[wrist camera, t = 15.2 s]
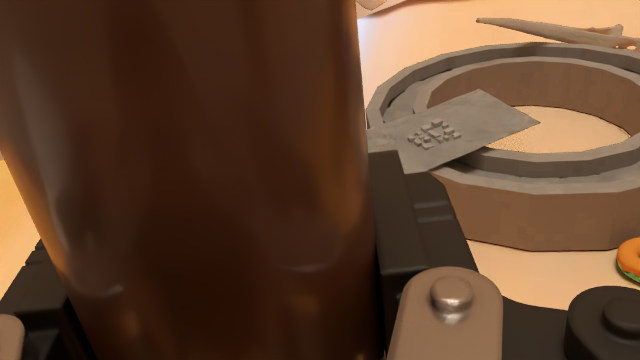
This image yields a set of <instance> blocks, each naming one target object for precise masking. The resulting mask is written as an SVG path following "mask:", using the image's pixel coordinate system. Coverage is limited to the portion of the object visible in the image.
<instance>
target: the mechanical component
mask: <svg viewBox="0 0 640 360" xmlns="http://www.w3.org/2000/svg"><path fill="white" fill-rule="evenodd" d="M477 89H480V90H482V91H484V92H486V93H488V94H490V95H492V96H493V97H495V98H497V99H499V100H500V101H502V102H504V103H505V104H507V105H509V106H518V105H539V106H551V107H562V108H568V109H572V110H576V111H580V112H584V113H588V114H592V115H596V116H598V117H600V118H603V119H605V120H607V121H609V122H611V123H613V124H616V125H618V126H620V127H622V128H623V129H625V130H626V131H627V132H628V133H629V134H630V135H631V136H632V137H630V138H629V139H627V140H625V141H623V142H621V143H617V144H613V145H609V146H604V147H600V148H596V149H591V150H587V151H583V152H564V153H540V154H534V153H526V152H518V151H510V150H502V149H494V148H489V147H486V146H483V147H481V148H479V149H476V150H474V151H472V152H470V153H467V154H465V155H463V156H460V157H458V158H455V159H453V160H450V161H448V162H445V163H442V164H440V165H438V166H436V167H433V168H431V169H429V170H427V171H428V172H429V173H430V174H432V175H433V176H434V177H435V178H437V179H438V180H439V181H440V182H442V183H443V184H444V185H445V188H446V190H447V193H448V195H449V198H450V200H451V205H453V208H454V210H455V213H456V215H457V219H458V220H459V223H460V225H461V228H462V231H463V233H464V236H465V238H468V239H473V240H478V241H483V242H488V243H494V244H499V245H504V246H509V247H514V248H519V249H524V250H529V251H549V250H608V249H612V248H616V247H620V245H621V244H622V243H624V242H625V241H627V240H629V239H633V238H638V237H640V53H638V52H632V51H625V50H619V49H613V48H607V47H601V46H595V45H589V44H571V43H547V42H527V43H514V44H500V45H486V46H480V47H475V48H471V49H466V50H461V51H456V52H451V53H446V54H441V55H438V56H435V57H433V58H430V59H428V60H425V61H422V62H420V63H417V64H414V65H412V66H409V67H406V68H404V69H402V70H401V71H400V72H398V73H397V74H395V75H394V76H393V77H391V78H390V79H388V80H387V81H386V82H384V83H383V84H381V85H380V86H378V87H377V89H376V91H375V93H374V95H373V97H372V99H371V101H370V103H369V104H368V106H367V108H366V120H367V129H370V128H373V127H376V126H380V125H383V124H386V123H389V122H392V121H394V120H397V119H400V118H402V117H405V116H408V115H412V114H415V113H419V112H422V111H424V110H427V109H429V108H431V107H434V106H436V105H438V104H441V103H443V102H445V101H448V100H451V99H453V98H456V97H458V96H461V95H464V94H467V93H470V92H473V91H475V90H477ZM427 171H425V172H427Z"/></svg>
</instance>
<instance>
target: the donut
mask: <svg viewBox="0 0 640 360" xmlns="http://www.w3.org/2000/svg"><path fill="white" fill-rule="evenodd" d="M617 264H618V266H619V267H620V269H621V270H622V271H623V273H624V274H625V275H627V276H628V277H630V278H632V279H633V280H635V281H637V282H640V237H638V238H633V239H629V240H627V241H625V242H624V243H622V244H621V245H620V247H619V248H618V252H617Z"/></svg>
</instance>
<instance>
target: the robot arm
mask: <svg viewBox="0 0 640 360" xmlns="http://www.w3.org/2000/svg"><path fill="white" fill-rule="evenodd" d="M368 156H369V168H370V180H371V191H372V203H373V215H374V227H375V238H376V254H377V265H378V277H379V289H380V300H381V312H382V324H383V336H384V347H385V354H386V360H640V290H637V289H633V288H628V287H621V286H600V287H595V288H591V289H588V290H586V291H583V292H581V293H580V294H578V295H577V296H576V297H575V298H574V299H573V300H572V301H571V303H570V305H569V308H568V311H567V310H560V309H553V308H545V307H538V306H532V305H527V304H523V303H519V302H516V301H513V300H511V299H508V298H506V297H504V296H502V295H501V293H500V291H499V289H498V288H497V286H496V285H495V284H494V283H493V282H492V281H491V280H490V279H488V278H487V277H485V276H484V275H482V274H480V273H479V271H478V268H477V266H476V263H475V261H474V258H473V256H472V253H471V251H470V248H469V246H468V243H467V241H466V238H465V236H464V233H463V231H462V228H461V225H460V223H459V220H458V219H457V215H456V213H455V210H454V208H453V205H451V200H450V198H449V195H448V193H447V190H446V188H445V185H444V184H443V183H442V182H440V181H439V180H438V179H437V178H435V177H434V176H433V175H432V174H430V173H429V172H428V171H427V172H418V173H409V174H404V170H403V167H402V163H401V160H400V157H399V153H398V150H397V149H396V150H387V151H379V152H370V153H368ZM25 264H26V265H25V266H22V268H21V269H20V271H19V273H18V274H17V276H16V277H15V279H14V280H13V282H12V283H11V285H10V287H9V288H8V290H7V291H6V293H5V294H4V296H3V297H2V299H1V301H0V360H97V358H96V356H95V353H94V351H93V349H92V347H91V345H90V343H89V340H88V338H87V336H86V334H85V332H84V330H83V328H82V325H81V323H80V321H79V319H78V317H77V315H76V313H75V310H74V308H73V306H72V304H71V302H70V300H69V297H68V295H67V293H66V291H65V289H64V287H63V285H62V282H61V280H60V278H59V276H58V274H57V272H56V269H55V267H54V265H53V263H52V261H51V259H50V257H49V254H48V252H47V250H46V248H45V246H44V244H43V242H42V239H41V238H40V240H39V242H38V243H37V245H36V246H35V251H32V252H31V254H30V256H29V257H28V259H27V260H26V262H25Z"/></svg>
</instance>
